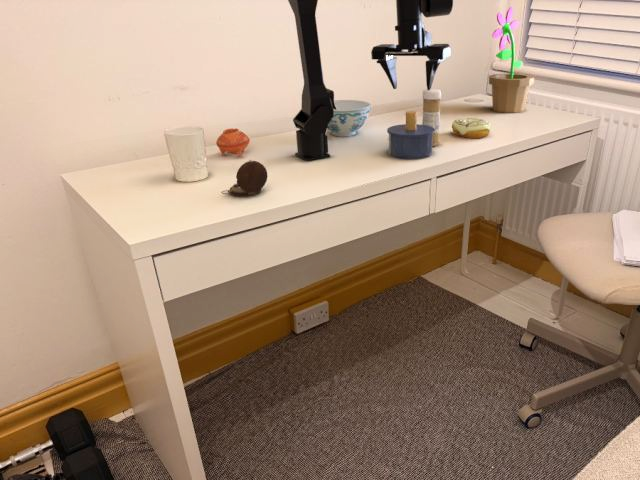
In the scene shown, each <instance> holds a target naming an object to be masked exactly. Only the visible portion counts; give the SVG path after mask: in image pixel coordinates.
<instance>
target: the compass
mask: <svg viewBox="0 0 640 480" xmlns="http://www.w3.org/2000/svg"><path fill="white" fill-rule="evenodd" d="M235 178H236V183H234V184H233V185H232V186H231V187H230V188H229V189H228V190H227V189H226V190H222V191H221V194H223V195H229V194H231V195H232V196H234V197H252V196H255V195H258V194H259V193H261V191H262V189H263V188H264V186H265V185H266V183H267V181H268V171H267V168H266V167H265V166H264V165H263V164H262V163H261V162H259V161H256V160H251V159H249V160H248V161H245V162H244V163H243V164H241V165H240V167H239V168H238V169H237V172H236V176H235Z"/></svg>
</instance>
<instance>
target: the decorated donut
mask: <svg viewBox="0 0 640 480" xmlns="http://www.w3.org/2000/svg"><path fill="white" fill-rule="evenodd" d="M451 129H452V132H453V133H454V134H455V135H456V136H458V137H462V138H466V139H470V138H471V139H476V138H480V139H481V138H484V137H487V136H489V134H490V131H491V129H492V124H491V123H490V122H489V121H487V120H485V119H482V118H478V117H477V118H476V117H465V118H457V119H455V120H453V121H452V123H451Z"/></svg>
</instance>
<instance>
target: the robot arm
mask: <svg viewBox="0 0 640 480" xmlns="http://www.w3.org/2000/svg"><path fill="white" fill-rule="evenodd" d="M318 1H319V0H287V2H288V3H289V6H290V8H291V10H292V13H293V15H294V20H295V26H296V27H295V28H296V32H297V33H296V36H297V41H298V42H297V43H298V48H299V49H298V50H299V56H300V64H301V70H302V78H303V87H302V93H301V109H300V110H299V111H298V113H296V115H295V116H294V117H293V118H292V122H293V124H294V127H295V128H296V129H297V130H295V136H296V149H297V152H294V156H295V157H297V158H300V159H301V160H304V161H308V162H309V161H313V160H314V161H315V160H319V159H326V158H330V157H331V154H330V153H329V141H328V139H329V138H328V137H329V136H328V135H327V134H326V133H327V130H328V128H327V127H328V123H329V122H330V121H331V119H332V118H333V116H334V109H335V110H336V107H335V104H334V100H335V92H334V90H332V89H329V88H327V87H326V85H325V81H324V73H323V67H322V58H321V57H322V56H321V50H320V41H319V34H318V25H317V17H316V14H317V13H316V12H317V8H318ZM395 5H396V8H395V9H396V25H394V31H395V32H397V44H394V43H381V44H379V45H375V46H373V47H372V48H371V52H370V54H371V56H370V57H371V60H376V64H379V65H380V66H381V68H382V70H383V71H384V73H385V75H386V76H387V79H388V80H389V83H390V85H391V87H392V88H393V90H396V89H397V88H398V80H397V79H398V77H397V68H396V66H397V61H398V57H426V58H427V59H428V60H426V61H425V81H426V82H425V83H426V89H427V90H430V89H432V86H433V83H434V81H435V76H436V73H437V70H438V68H439V66H440V64H441V63H443V62H444V61H446V59H447V58H449V57H452V48H451V46H450V44H449V43H432V40H433V39H432V38H433V34H431V33H430V32H429V31H427V30H426V29H425V23H424V22H423V21H422V15H423V17H424V18H433V17H434V18H435V17H443V16H444V17H445V16H450V14H451V13H452V10H453V7H454V0H395Z"/></svg>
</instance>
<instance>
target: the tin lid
mask: <svg viewBox="0 0 640 480" xmlns="http://www.w3.org/2000/svg"><path fill="white" fill-rule="evenodd" d="M417 114H418V113H417V111H414V110H409V111H405V123H403V124H397V125H396V124H395V125H392V126H389V127H388V128H387V129H386V132H387V134H388V135H389V134H391V135H395V136H401V137H422V136H428V135H431V134H433V133H434V132H435V129H434V128H433V127H430V126H426V125H422V124H417V121H418V119H417V118H418V115H417Z"/></svg>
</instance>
